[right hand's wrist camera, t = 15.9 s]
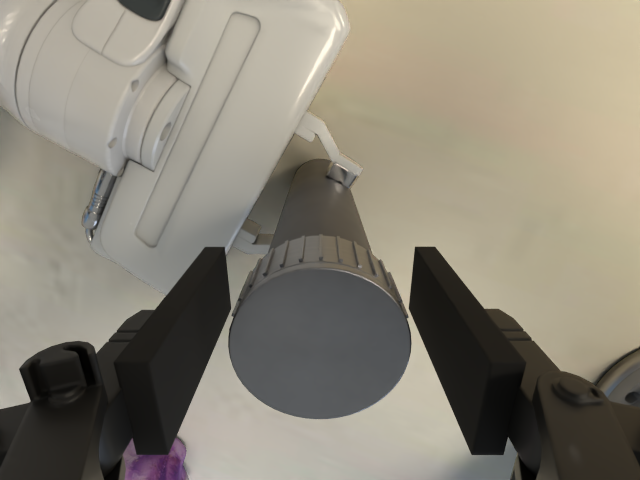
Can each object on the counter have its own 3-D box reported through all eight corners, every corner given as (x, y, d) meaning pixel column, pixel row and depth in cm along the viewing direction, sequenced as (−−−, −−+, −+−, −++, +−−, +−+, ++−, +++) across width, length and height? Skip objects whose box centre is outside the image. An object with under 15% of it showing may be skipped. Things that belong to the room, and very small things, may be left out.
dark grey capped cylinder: (310, 222, 31) (295, 415, 12) (281, 176, 29) (212, 313, 10) (357, 196, 30) (421, 359, 11) (330, 148, 28) (350, 239, 10)
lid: (425, 270, 12) (450, 310, 10) (353, 385, 14) (360, 442, 11) (277, 206, 11) (266, 233, 9) (221, 336, 13) (200, 387, 11)
